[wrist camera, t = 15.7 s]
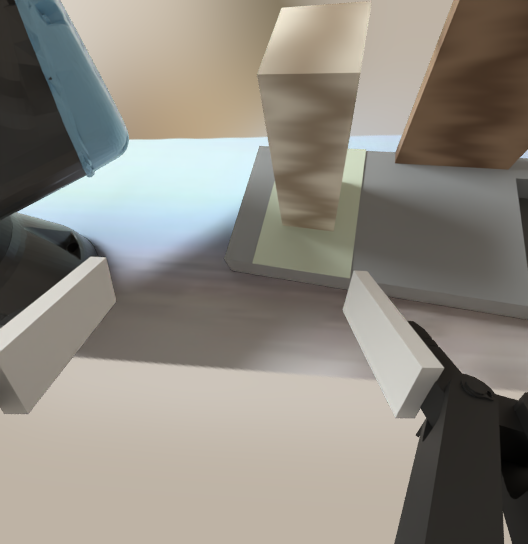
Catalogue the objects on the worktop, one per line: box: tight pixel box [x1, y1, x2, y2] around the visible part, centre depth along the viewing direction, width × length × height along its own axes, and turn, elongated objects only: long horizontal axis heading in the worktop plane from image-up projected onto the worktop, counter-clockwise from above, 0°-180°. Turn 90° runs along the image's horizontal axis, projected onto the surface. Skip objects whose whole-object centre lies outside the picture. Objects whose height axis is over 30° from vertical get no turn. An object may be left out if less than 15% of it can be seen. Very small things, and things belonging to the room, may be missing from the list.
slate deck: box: [224, 146, 528, 320], centre depth 26 cm, size 33×15×3 cm, turn 76°
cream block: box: [257, 1, 372, 231], centre depth 20 cm, size 5×6×14 cm
